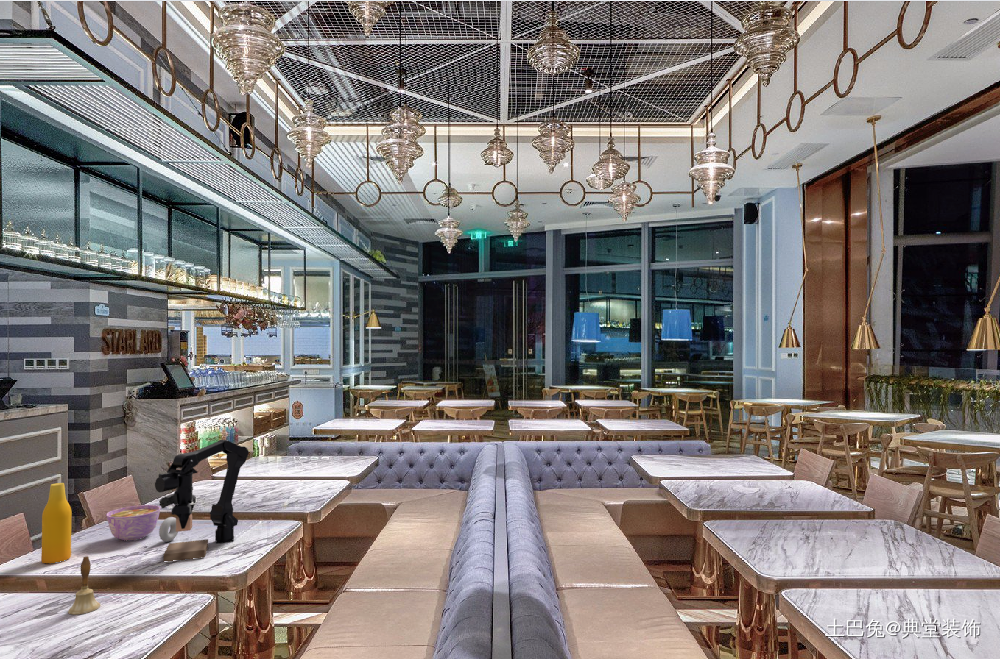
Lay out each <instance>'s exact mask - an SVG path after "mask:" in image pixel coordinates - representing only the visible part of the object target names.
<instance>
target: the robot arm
mask: <svg viewBox="0 0 1000 659" xmlns="http://www.w3.org/2000/svg"><path fill="white" fill-rule="evenodd" d="M221 452H222V453H223V454H225V455H226V458H225V459H226V464H227V469H226V472H225V477H224V481H223V484H222V488H221V492H220V496H219V500H218V502H217V503H216V504H212V505H211V509H210V512H209V515H210V517H209V518H210V520H211V522H212V523H213V526H214V527H215V526H216V529H215V532H214V533H215V535H214V536H215V542H216V544H220V543H222V542H223V543H229V542H230V541H232V542H234V540H235V530H234V529H235V527H236V526H238V522H239V520H238V519H237V517H236V516H234V507H233V498H234V495H235V489H236V487H237V482H238V480H239V479H238V478H239V475H240V471H241V468H242V467H243V465H244V464H245V463H246V461H247V458H248V457H249V453H250V451H249V449H248V447H246V446H244V445H243V446H241V445H238V444H236V443H234V442H232V441H230V440H228V439H219V440H217V441H216V442H213V443H211V444H209V445H207V446H204V447H202V448H200V449H196V450H194V451H188V452H184V453H179V454H176V455H175V456H174V459H173V461H172V462H171V465H170V466H169V468H168V469H167V471H166V472H165V473H159V474H158V477H157V478H156V480H155V482H154V488H155V490H156V491H157V492H158V493H164V492H168V491H172V490H175V491H174V493H171V494H168V495H165V496H164V497H161V499H160V500H158V502H159V505H158V506H160V508H161V509H165V508H166V507H168V506H170V505H174V506H173V507H171V515H173V516H178V518H179V521H180V524H181V528H182V529H184V528H185V527H186V524H187V521H188V519H189V516H190V514H193V510H194V508H195V504H196V502H197V497H196V495H194V494H193V491H194V487H193V475H194V474H198V470H196V469H195V467H196V466H198V465H199V463H200V462H201V461H204V460H205V459H209V458H210V457H212V456H215V455H216V454H219V453H221ZM223 543H222V544H223Z"/></svg>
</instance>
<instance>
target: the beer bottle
mask: <svg viewBox="0 0 1000 659" xmlns="http://www.w3.org/2000/svg"><path fill="white" fill-rule="evenodd" d="M72 514H73V513H72V507H71V505H70V504H69V502H68V500H67V496H66V486H65V483H64V482H57V483H52V484H50V488H49V495H48V501H47V503H46V505H45V506H44V509H43V511H42V515H41V555H40V560H41V563H42V564H43V563H55V562H60V561H64V560H66V561H68V560H70V559H71V557H72ZM69 558H70V559H69ZM67 559H68V560H67ZM64 562H65V561H64ZM60 563H61V562H60ZM55 564H56V563H55Z"/></svg>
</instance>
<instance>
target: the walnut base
mask: <svg viewBox="0 0 1000 659" xmlns="http://www.w3.org/2000/svg"><path fill="white" fill-rule="evenodd" d="M207 548H209V538H208V539H197V540H191V541H190V540H189V541H181V542H171V543H169V544H168V545H167V547H166V549H165V551H164V553H163V556H162V558H163V560H162V561H163V562H164V561H173V560H181V561H186V560H185V559H189V560H194V559H193V558H198V559H202V558H201V557H206V554H207V552H208V549H207ZM206 551H207V552H206ZM163 562H162V563H163ZM173 562H174V561H173ZM164 563H165V562H164Z"/></svg>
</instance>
